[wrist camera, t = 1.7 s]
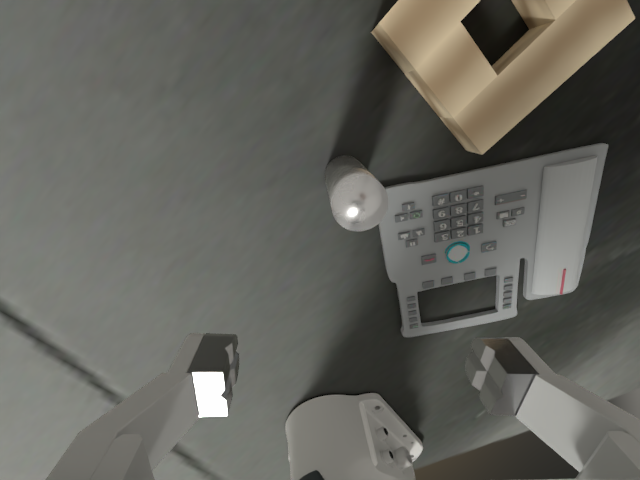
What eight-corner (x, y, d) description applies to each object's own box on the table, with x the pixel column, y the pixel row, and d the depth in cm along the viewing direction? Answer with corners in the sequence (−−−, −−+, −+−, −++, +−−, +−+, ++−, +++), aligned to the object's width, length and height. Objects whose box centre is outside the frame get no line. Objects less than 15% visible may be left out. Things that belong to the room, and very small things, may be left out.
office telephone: (623, 141, 28) (589, 311, 36) (597, 139, 30) (571, 298, 38) (377, 194, 29) (398, 348, 37) (372, 188, 31) (392, 334, 39)
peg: (372, 174, 30) (400, 203, 21) (344, 202, 31) (358, 241, 22) (344, 146, 29) (361, 163, 20) (316, 176, 30) (319, 206, 21)
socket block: (600, 28, 25) (635, 18, 23) (466, 150, 29) (482, 154, 26) (515, -136, 21) (545, -172, 18) (371, 32, 25) (378, 23, 22)
